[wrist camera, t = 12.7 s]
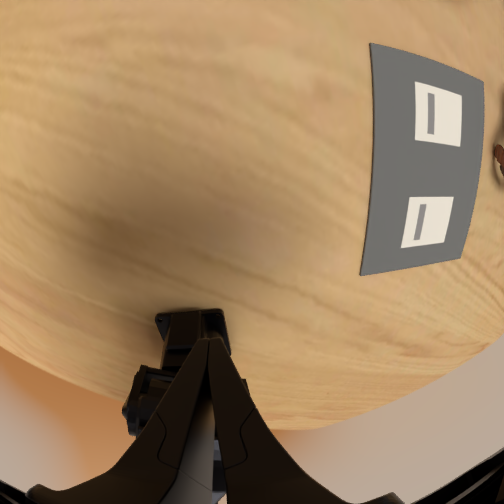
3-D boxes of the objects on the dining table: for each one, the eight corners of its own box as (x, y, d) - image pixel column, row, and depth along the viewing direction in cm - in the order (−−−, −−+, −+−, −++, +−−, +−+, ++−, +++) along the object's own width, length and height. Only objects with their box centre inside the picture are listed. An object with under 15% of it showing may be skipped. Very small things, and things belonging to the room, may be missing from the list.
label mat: (459, 257, 24) (460, 258, 24) (359, 274, 24) (360, 276, 23) (482, 81, 14) (483, 81, 14) (369, 43, 14) (370, 42, 13)
